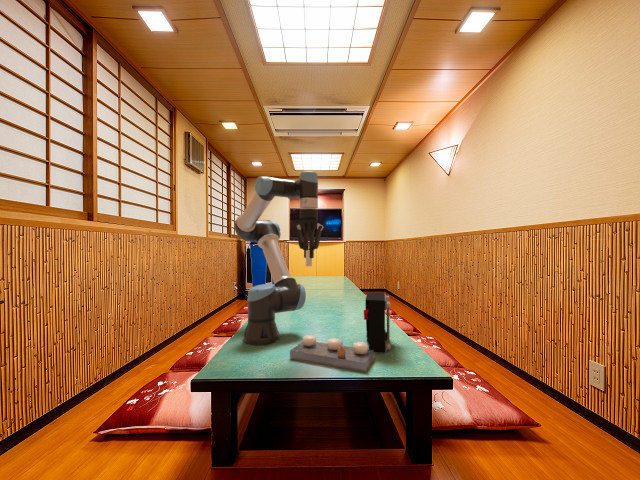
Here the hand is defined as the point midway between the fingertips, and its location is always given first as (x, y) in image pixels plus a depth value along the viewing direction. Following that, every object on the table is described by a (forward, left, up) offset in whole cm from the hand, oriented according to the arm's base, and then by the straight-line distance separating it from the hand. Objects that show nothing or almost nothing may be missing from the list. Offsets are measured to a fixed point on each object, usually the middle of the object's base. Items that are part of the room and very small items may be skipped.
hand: (308, 266), depth 120 cm
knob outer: (+24, -8, -32) cm, 41 cm away
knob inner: (+4, -8, -32) cm, 33 cm away
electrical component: (+26, +11, -33) cm, 43 cm away
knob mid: (+14, -8, -32) cm, 36 cm away
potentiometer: (+19, -14, -29) cm, 38 cm away
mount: (+14, -10, -32) cm, 37 cm away
